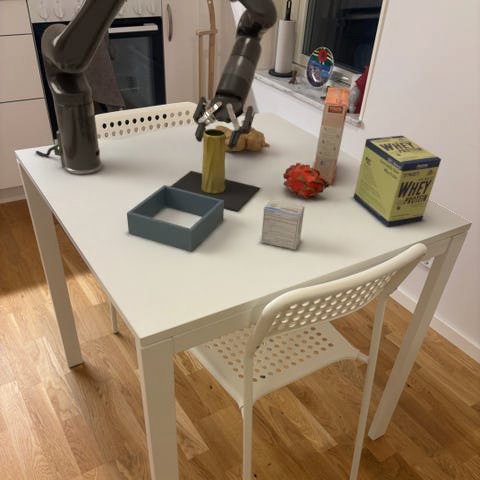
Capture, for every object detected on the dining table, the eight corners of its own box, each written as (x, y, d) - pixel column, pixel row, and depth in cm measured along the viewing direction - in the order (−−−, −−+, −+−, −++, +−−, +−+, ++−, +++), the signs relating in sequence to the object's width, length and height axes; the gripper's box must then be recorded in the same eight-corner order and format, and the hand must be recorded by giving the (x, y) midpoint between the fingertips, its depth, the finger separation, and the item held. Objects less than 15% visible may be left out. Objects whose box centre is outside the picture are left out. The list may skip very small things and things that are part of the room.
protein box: (387, 227, 121) (404, 164, 111) (352, 198, 131) (364, 137, 121) (423, 221, 124) (443, 159, 114) (386, 193, 135) (401, 133, 125)
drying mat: (164, 192, 128) (164, 190, 128) (191, 172, 138) (191, 170, 138) (237, 211, 123) (237, 210, 122) (259, 189, 133) (259, 187, 132)
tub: (128, 233, 113) (126, 212, 109) (165, 204, 124) (164, 184, 120) (191, 251, 108) (191, 231, 105) (223, 220, 119) (224, 200, 116)
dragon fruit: (278, 193, 135) (321, 209, 133) (274, 186, 127) (319, 203, 125) (291, 162, 134) (334, 178, 132) (287, 153, 126) (333, 170, 124)
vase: (200, 183, 132) (201, 127, 123) (224, 183, 133) (226, 128, 124) (201, 194, 128) (202, 136, 119) (226, 194, 128) (228, 137, 119)
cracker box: (333, 186, 136) (348, 104, 123) (311, 182, 137) (323, 101, 124) (336, 165, 147) (350, 88, 134) (315, 162, 148) (327, 85, 134)
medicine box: (300, 241, 114) (305, 205, 108) (295, 251, 110) (300, 214, 105) (266, 233, 115) (269, 198, 110) (260, 243, 112) (263, 207, 107)
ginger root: (271, 156, 146) (266, 128, 141) (216, 166, 148) (210, 139, 143) (269, 138, 158) (265, 111, 153) (219, 147, 160) (213, 121, 155)
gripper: (266, 95, 125) (245, 157, 124) (214, 85, 129) (192, 145, 128) (260, 77, 118) (237, 142, 117) (204, 67, 122) (182, 130, 121)
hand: (214, 143), depth 123 cm, fingers open, 8 cm apart
